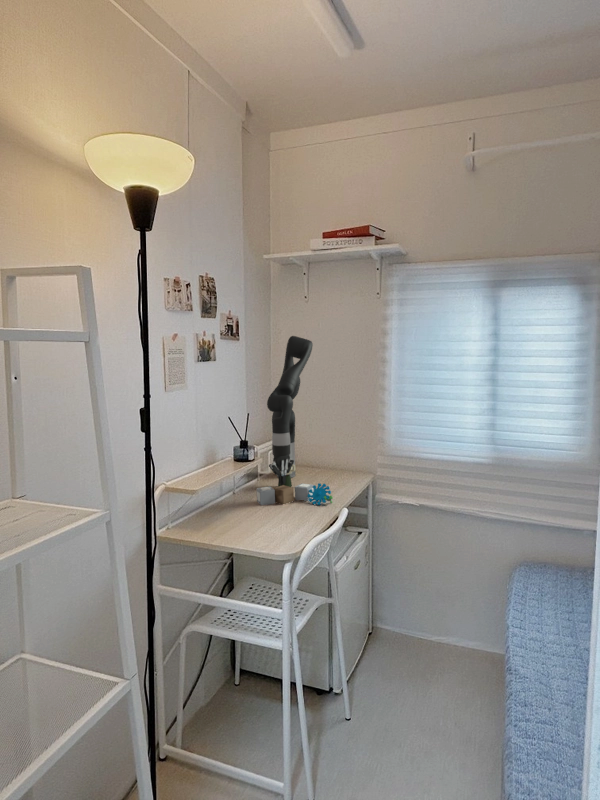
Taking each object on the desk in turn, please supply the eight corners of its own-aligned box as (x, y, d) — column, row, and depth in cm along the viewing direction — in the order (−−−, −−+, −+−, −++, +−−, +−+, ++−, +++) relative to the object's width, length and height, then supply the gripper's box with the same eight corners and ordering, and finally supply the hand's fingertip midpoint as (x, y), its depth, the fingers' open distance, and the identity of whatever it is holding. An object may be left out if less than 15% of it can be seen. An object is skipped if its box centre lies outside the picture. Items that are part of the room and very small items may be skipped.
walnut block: (273, 502, 223) (273, 488, 222) (283, 498, 227) (283, 485, 226) (283, 504, 219) (283, 490, 218) (293, 501, 223) (293, 487, 222)
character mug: (270, 488, 243) (269, 460, 242) (278, 484, 250) (277, 457, 248) (291, 491, 238) (291, 462, 237) (299, 487, 245) (298, 459, 243)
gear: (302, 499, 220) (314, 479, 224) (308, 506, 224) (319, 486, 228) (324, 507, 213) (336, 486, 217) (329, 514, 217) (341, 494, 221)
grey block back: (295, 500, 225) (294, 486, 224) (302, 496, 230) (301, 482, 229) (308, 502, 222) (307, 487, 221) (314, 498, 227) (314, 484, 226)
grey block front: (256, 501, 224) (256, 487, 223) (270, 499, 226) (270, 486, 226) (261, 505, 218) (260, 491, 218) (275, 503, 221) (274, 489, 220)
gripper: (276, 446, 213) (277, 489, 215) (298, 441, 222) (299, 482, 224) (263, 444, 218) (264, 486, 220) (285, 439, 227) (286, 479, 229)
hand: (282, 484), depth 222 cm, fingers closed
